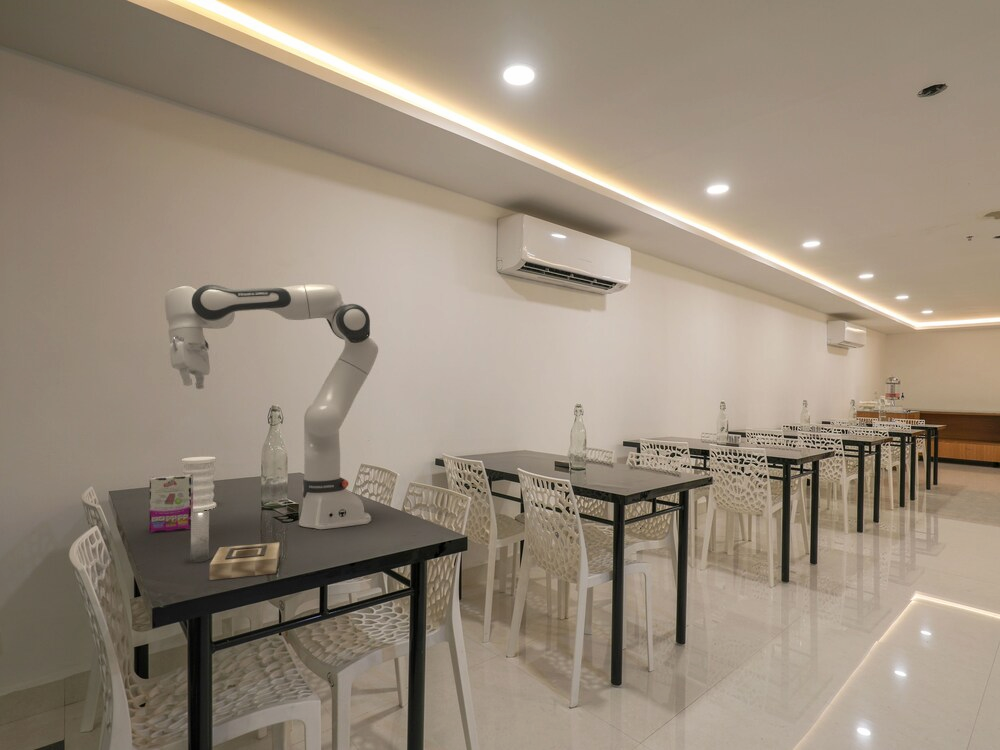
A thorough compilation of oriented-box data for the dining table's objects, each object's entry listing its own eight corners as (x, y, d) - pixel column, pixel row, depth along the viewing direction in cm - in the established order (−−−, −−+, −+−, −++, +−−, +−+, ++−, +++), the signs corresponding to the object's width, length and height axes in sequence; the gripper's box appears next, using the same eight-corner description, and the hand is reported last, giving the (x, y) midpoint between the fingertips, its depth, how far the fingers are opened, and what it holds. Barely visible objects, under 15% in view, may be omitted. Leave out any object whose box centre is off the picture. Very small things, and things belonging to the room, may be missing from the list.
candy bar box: (193, 525, 173) (194, 473, 173) (190, 529, 168) (191, 476, 169) (152, 529, 169) (153, 475, 169) (148, 533, 164) (149, 478, 165)
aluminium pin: (209, 556, 142) (210, 510, 142) (206, 561, 138) (207, 513, 138) (192, 558, 140) (192, 511, 141) (188, 563, 137) (189, 514, 137)
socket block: (279, 555, 142) (279, 541, 143) (275, 573, 129) (276, 557, 129) (219, 561, 138) (219, 546, 138) (209, 580, 125) (209, 563, 125)
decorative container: (217, 509, 196) (217, 459, 196) (179, 513, 190) (180, 461, 190) (215, 503, 206) (216, 455, 206) (179, 507, 200) (180, 457, 200)
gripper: (185, 332, 152) (192, 380, 151) (210, 345, 172) (217, 388, 171) (160, 336, 151) (167, 385, 149) (189, 349, 171) (195, 392, 169)
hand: (194, 387), depth 160 cm, fingers open, 8 cm apart
